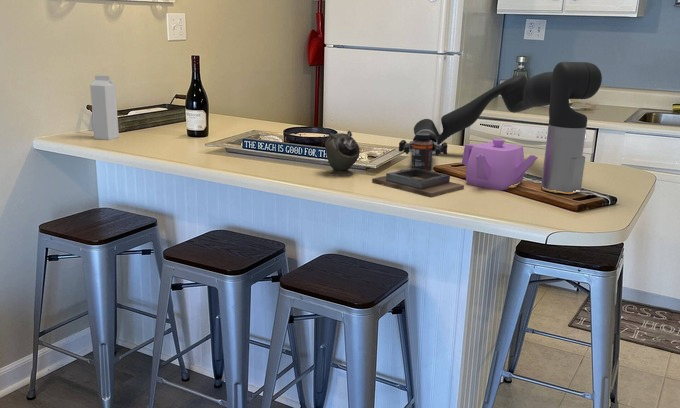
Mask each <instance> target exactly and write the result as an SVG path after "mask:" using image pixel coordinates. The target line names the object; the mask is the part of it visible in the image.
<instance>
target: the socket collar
mask: <svg viewBox="0 0 680 408" xmlns="http://www.w3.org/2000/svg"><path fill="white" fill-rule="evenodd" d="M385 176H386V181H389V182H393V183H397V184H401V185H405V186H409V187H413V188H417V189H426V188H430V187H434V186H438V185H442V184H447V183H450V182H451V181H450V179H451V175H449V174H445V173H439V172H436V171H432V170H431V171H427V170H423V169H418V168H411V167H410V168H407V169H403V170H397V171H392V172H387V173H385ZM410 177H420V178H424V179H423V180H419V179H415V178H410Z"/></svg>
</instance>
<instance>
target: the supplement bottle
mask: <svg viewBox="0 0 680 408" xmlns="http://www.w3.org/2000/svg"><path fill="white" fill-rule="evenodd" d="M412 141H413V140H412ZM432 149H433V144H432V142H431V141H430V134H428V133H417V134H416V140H415V141H413V143H412V153H411V162H410V163H411V164H410V169H411V168H418V169H423V170H427V171H432V163H433V161H432V160H433V154H432Z"/></svg>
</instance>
